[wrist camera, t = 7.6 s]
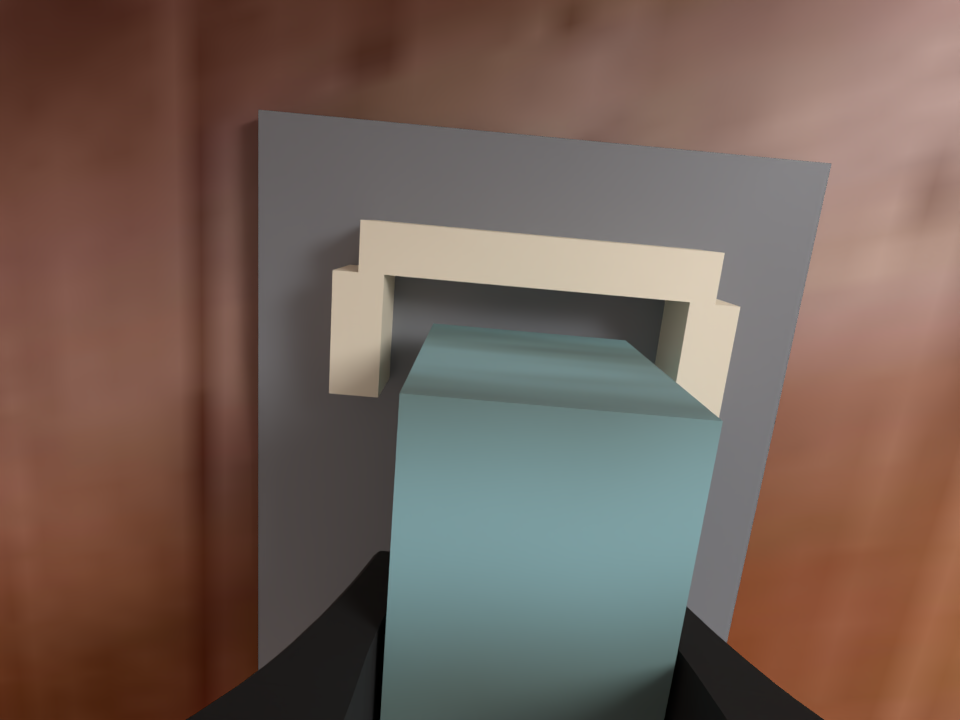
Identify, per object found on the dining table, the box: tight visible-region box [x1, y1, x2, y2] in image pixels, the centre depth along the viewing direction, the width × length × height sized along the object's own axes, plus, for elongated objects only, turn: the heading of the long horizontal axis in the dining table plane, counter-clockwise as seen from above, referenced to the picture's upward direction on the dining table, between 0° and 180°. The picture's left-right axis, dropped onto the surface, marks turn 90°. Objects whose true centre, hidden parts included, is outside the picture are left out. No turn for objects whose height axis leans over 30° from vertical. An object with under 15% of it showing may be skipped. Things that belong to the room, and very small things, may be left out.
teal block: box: [380, 323, 723, 720], centre depth 11 cm, size 10×4×5 cm, turn 175°
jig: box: [258, 110, 831, 670], centre depth 14 cm, size 18×12×2 cm, turn 175°
